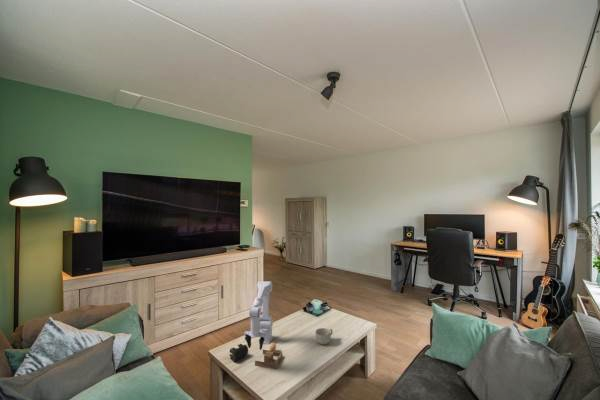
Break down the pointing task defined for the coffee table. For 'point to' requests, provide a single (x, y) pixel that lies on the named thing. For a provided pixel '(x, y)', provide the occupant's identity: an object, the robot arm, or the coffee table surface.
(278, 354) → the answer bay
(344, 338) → the coffee table surface
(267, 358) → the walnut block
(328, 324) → the coffee table surface
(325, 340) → the teacup
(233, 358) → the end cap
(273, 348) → the tan rounded capsule
